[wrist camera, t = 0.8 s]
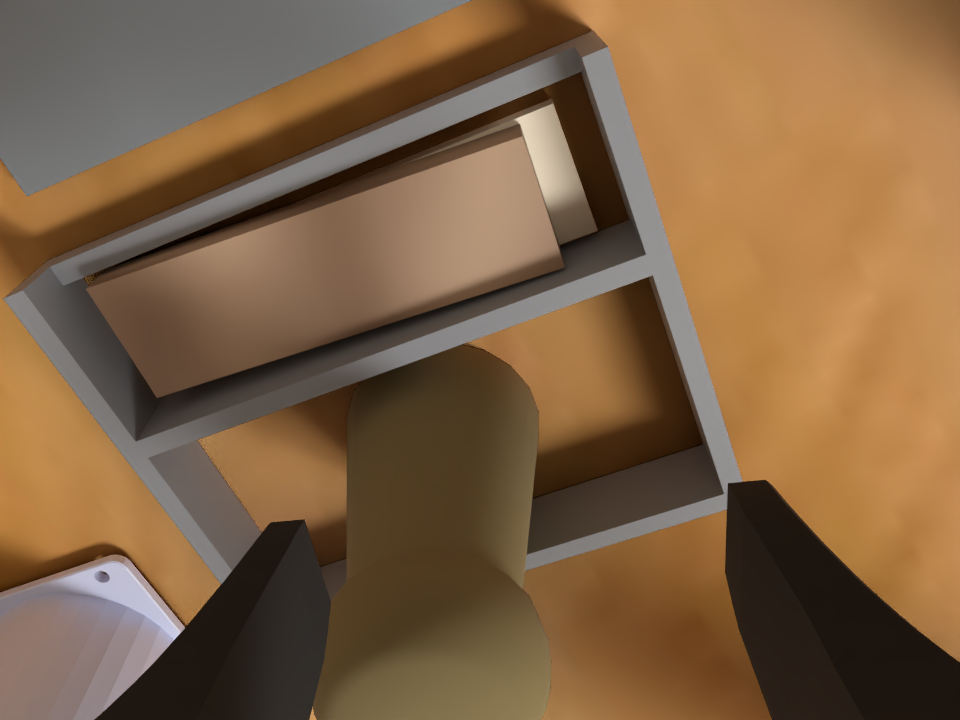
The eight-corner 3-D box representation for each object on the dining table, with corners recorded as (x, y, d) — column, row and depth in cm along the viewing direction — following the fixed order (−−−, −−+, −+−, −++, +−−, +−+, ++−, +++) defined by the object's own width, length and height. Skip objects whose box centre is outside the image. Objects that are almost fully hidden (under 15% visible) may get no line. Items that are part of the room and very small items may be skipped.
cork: (309, 394, 25) (209, 701, 16) (482, 309, 24) (489, 587, 14) (410, 527, 28) (378, 858, 18) (571, 457, 26) (628, 776, 17)
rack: (285, 592, 29) (270, 648, 27) (47, 260, 23) (3, 298, 21) (726, 452, 26) (749, 502, 24) (593, 29, 20) (607, 46, 18)
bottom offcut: (192, 365, 25) (180, 386, 24) (126, 266, 24) (109, 283, 23) (591, 215, 23) (597, 230, 22) (549, 93, 21) (553, 103, 20)
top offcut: (170, 376, 24) (157, 397, 23) (103, 269, 23) (86, 288, 22) (560, 249, 22) (565, 267, 21) (519, 123, 21) (521, 136, 20)
